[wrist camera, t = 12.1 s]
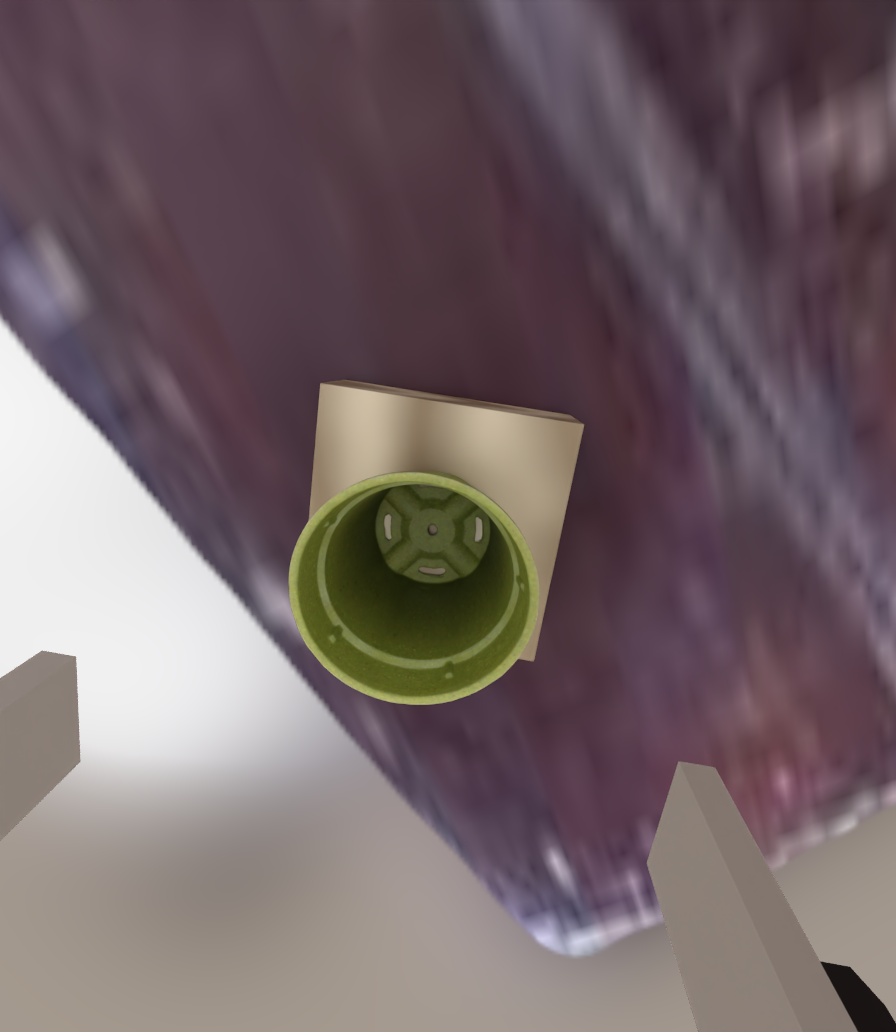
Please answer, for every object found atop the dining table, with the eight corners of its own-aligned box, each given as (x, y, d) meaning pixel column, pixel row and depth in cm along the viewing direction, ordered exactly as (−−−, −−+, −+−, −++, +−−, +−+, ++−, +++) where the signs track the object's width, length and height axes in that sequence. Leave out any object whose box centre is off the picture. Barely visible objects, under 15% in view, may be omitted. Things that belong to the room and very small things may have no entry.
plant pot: (522, 613, 31) (536, 709, 22) (349, 611, 31) (298, 704, 23) (526, 438, 28) (543, 471, 20) (337, 439, 29) (276, 472, 20)
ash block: (569, 414, 32) (584, 424, 28) (527, 620, 36) (533, 661, 31) (344, 379, 33) (320, 383, 28) (324, 587, 36) (300, 622, 32)
